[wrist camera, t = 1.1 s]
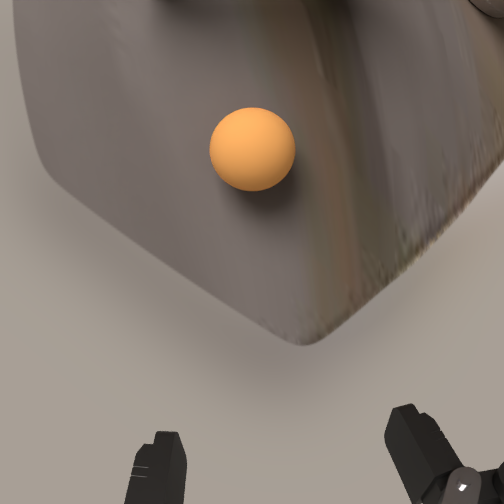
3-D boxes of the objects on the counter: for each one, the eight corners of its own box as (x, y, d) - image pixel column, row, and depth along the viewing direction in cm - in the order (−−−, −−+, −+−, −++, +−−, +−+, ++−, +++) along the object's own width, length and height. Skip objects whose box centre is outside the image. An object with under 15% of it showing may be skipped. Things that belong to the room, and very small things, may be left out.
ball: (210, 115, 22) (203, 104, 16) (285, 111, 22) (300, 100, 16) (215, 188, 23) (209, 200, 18) (289, 184, 23) (305, 194, 18)
